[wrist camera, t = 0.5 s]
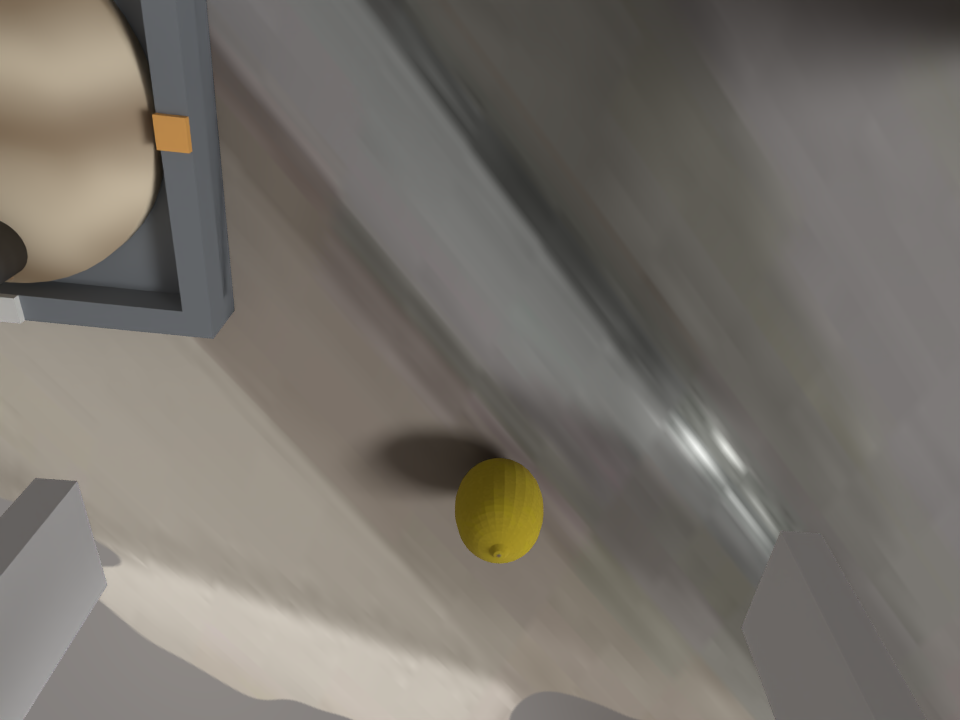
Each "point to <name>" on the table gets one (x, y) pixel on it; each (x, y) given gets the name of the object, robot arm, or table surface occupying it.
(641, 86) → the table surface
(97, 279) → the dial frame
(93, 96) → the dial
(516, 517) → the lemon
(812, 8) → the table surface
